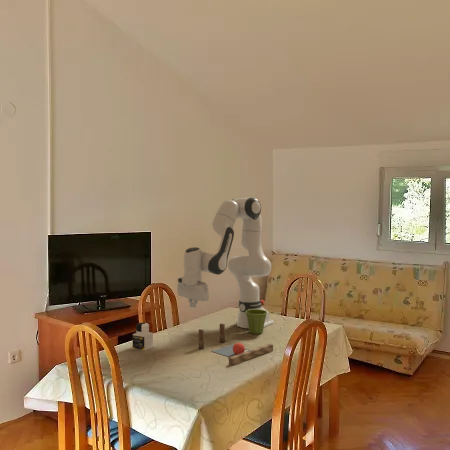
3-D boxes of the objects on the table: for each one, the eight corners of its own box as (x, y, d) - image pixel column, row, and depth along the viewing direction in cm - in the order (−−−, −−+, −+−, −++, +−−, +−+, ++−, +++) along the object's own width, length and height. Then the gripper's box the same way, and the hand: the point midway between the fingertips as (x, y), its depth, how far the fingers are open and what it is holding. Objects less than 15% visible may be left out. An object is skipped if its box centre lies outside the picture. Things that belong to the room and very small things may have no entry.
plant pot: (268, 335, 262) (268, 314, 261) (245, 335, 262) (245, 314, 261) (266, 329, 274) (266, 309, 273) (245, 329, 274) (245, 309, 273)
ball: (238, 352, 235) (236, 340, 234) (247, 353, 231) (246, 341, 231) (231, 356, 230) (229, 344, 230) (240, 357, 227) (239, 345, 227)
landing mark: (232, 345, 246) (232, 344, 246) (253, 351, 236) (253, 350, 236) (211, 351, 236) (211, 351, 236) (233, 358, 226) (233, 358, 226)
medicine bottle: (132, 348, 241) (131, 324, 240) (141, 344, 247) (141, 320, 246) (144, 351, 237) (144, 326, 236) (153, 346, 244) (153, 322, 243)
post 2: (222, 340, 253) (222, 323, 252) (225, 342, 251) (225, 324, 250) (218, 342, 251) (218, 324, 250) (222, 343, 249) (222, 325, 249)
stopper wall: (269, 349, 238) (269, 343, 238) (273, 350, 237) (273, 344, 237) (228, 364, 218) (228, 357, 218) (232, 365, 217) (232, 358, 217)
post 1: (201, 347, 243) (201, 328, 242) (205, 348, 241) (205, 329, 240) (197, 348, 241) (197, 330, 240) (201, 349, 239) (201, 331, 238)
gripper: (211, 281, 247) (211, 309, 248) (184, 276, 262) (184, 303, 263) (202, 283, 243) (202, 311, 244) (175, 278, 257) (175, 305, 258)
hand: (193, 307), depth 253 cm, fingers closed
